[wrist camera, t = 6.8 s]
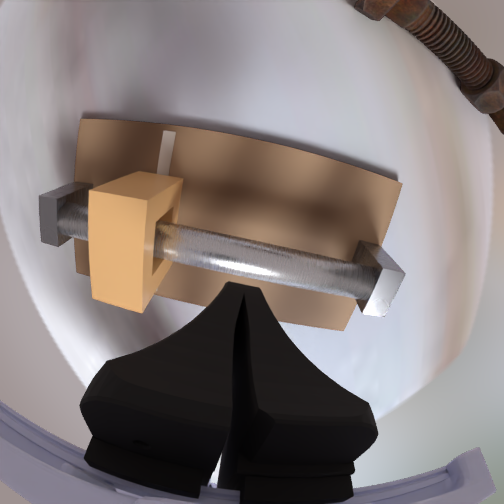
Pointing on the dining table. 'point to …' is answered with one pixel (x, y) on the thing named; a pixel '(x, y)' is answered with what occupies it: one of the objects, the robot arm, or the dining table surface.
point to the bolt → (447, 50)
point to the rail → (240, 254)
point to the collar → (129, 237)
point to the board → (246, 204)
